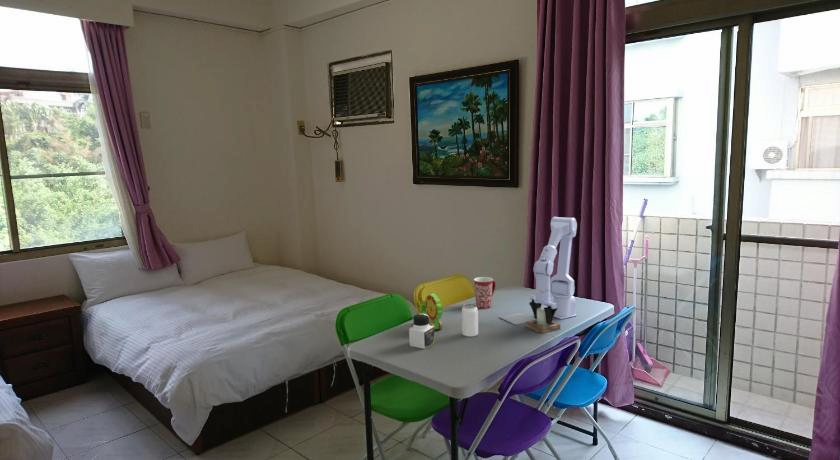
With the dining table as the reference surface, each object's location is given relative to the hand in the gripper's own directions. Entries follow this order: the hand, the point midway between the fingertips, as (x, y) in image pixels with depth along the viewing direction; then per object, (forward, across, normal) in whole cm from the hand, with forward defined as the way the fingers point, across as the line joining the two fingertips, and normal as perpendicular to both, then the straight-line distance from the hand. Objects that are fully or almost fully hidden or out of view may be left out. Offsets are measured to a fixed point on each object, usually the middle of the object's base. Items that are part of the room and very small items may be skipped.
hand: (542, 320), depth 216 cm
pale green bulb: (+3, 0, 0) cm, 3 cm away
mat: (+3, -14, -2) cm, 14 cm away
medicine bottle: (+3, -9, -52) cm, 53 cm away
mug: (+3, -38, -3) cm, 38 cm away
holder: (+3, 0, 0) cm, 3 cm away
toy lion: (+3, -25, -40) cm, 47 cm away
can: (+3, -9, -30) cm, 31 cm away
